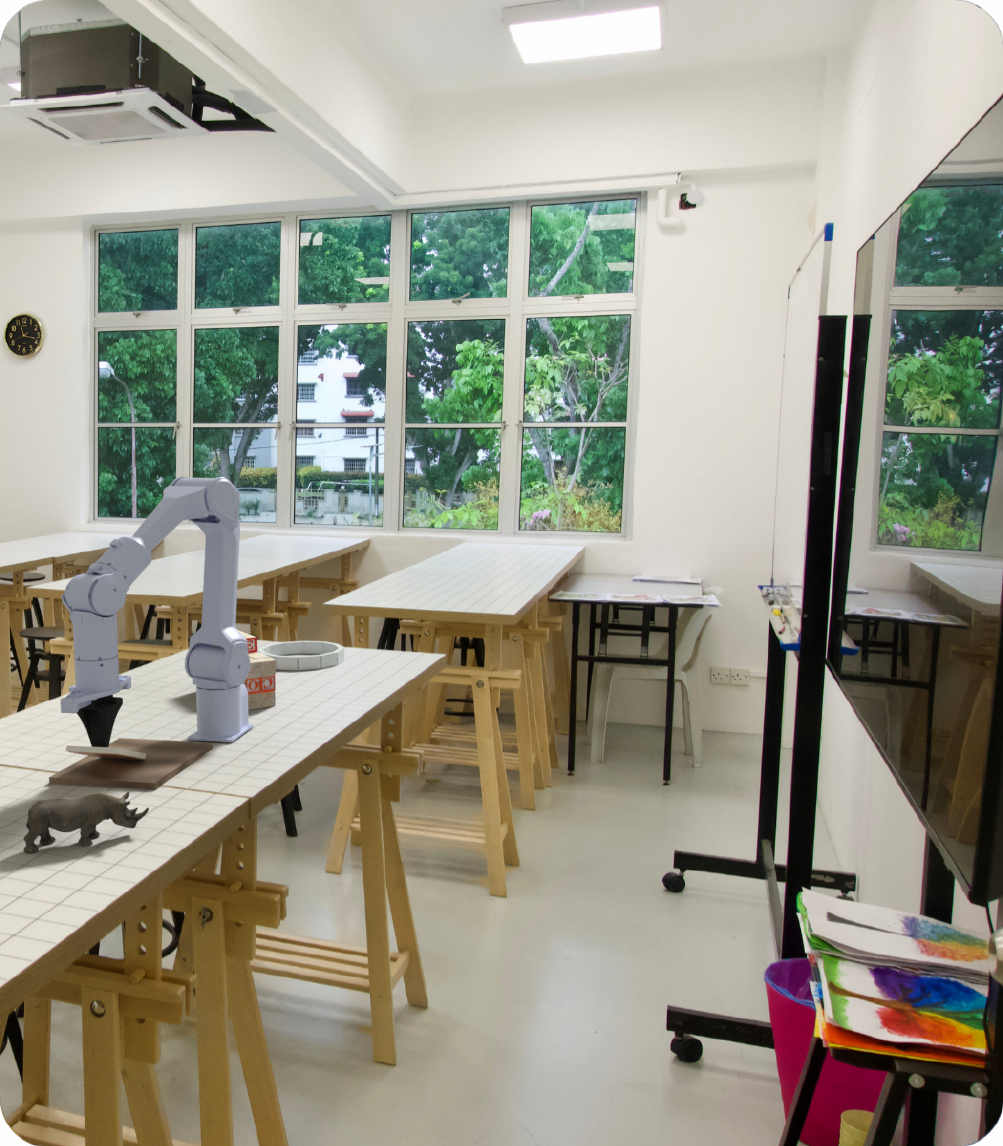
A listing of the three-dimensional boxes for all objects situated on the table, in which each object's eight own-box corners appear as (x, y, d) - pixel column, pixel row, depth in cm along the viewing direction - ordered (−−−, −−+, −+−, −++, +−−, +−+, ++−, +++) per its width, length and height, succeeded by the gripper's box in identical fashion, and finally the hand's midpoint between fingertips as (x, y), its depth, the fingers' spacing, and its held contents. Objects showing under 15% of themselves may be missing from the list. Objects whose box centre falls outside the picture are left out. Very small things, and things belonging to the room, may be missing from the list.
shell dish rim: (277, 651, 215) (276, 639, 215) (352, 654, 213) (352, 642, 213) (245, 668, 196) (245, 655, 196) (328, 671, 194) (328, 658, 194)
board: (119, 744, 140) (119, 732, 140) (212, 748, 139) (212, 736, 138) (49, 783, 122) (48, 770, 122) (155, 789, 120) (154, 776, 120)
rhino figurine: (149, 839, 104) (148, 792, 104) (22, 857, 99) (19, 807, 98) (149, 826, 108) (148, 780, 107) (26, 843, 103) (24, 795, 102)
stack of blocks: (276, 706, 165) (275, 644, 163) (245, 711, 161) (244, 647, 160) (236, 684, 182) (235, 627, 180) (207, 688, 178) (205, 630, 176)
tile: (66, 745, 122) (65, 751, 122) (119, 748, 122) (118, 754, 121) (96, 751, 130) (95, 757, 130) (146, 753, 129) (145, 759, 129)
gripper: (99, 646, 130) (102, 732, 131) (38, 666, 116) (42, 763, 117) (142, 647, 129) (145, 734, 131) (86, 668, 115) (90, 766, 116)
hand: (100, 748), depth 124 cm, fingers closed, pressing on tile
